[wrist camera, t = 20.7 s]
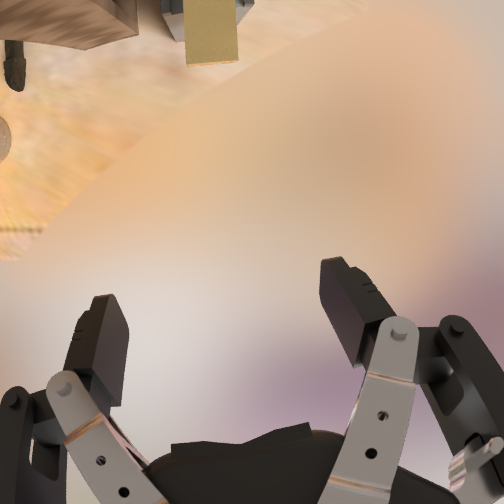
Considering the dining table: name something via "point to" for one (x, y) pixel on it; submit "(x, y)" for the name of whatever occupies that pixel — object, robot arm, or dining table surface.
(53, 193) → the dining table surface
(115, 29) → the brown tall rectangular frame
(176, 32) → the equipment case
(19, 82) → the hand tool
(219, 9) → the rod
